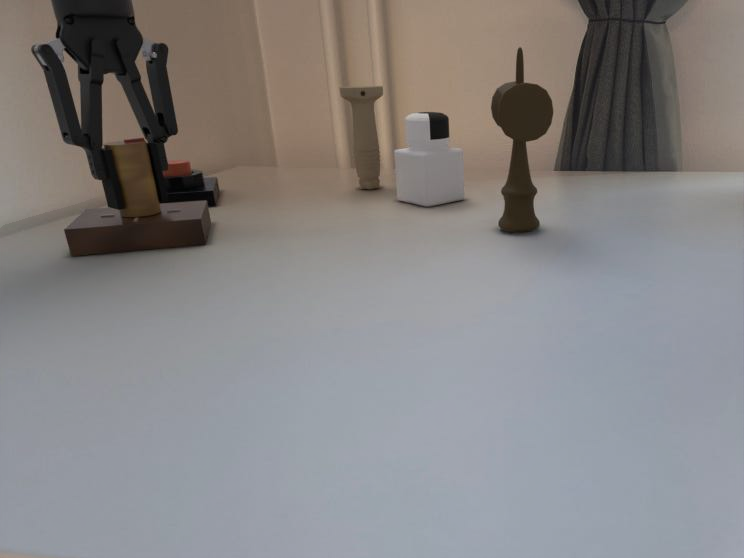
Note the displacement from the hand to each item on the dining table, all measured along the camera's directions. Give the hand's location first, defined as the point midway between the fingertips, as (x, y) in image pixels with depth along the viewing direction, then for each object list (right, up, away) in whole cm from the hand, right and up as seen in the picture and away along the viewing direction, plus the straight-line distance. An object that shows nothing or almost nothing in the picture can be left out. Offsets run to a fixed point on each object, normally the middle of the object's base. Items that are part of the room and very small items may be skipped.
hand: (138, 203), depth 79 cm
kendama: (+45, -3, +2) cm, 45 cm away
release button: (-5, +9, +21) cm, 23 cm away
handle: (+22, +9, +29) cm, 38 cm away
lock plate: (0, -4, +2) cm, 4 cm away
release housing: (-5, +6, +22) cm, 23 cm away
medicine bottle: (+33, +5, +19) cm, 38 cm away
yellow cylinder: (0, -1, 0) cm, 1 cm away
